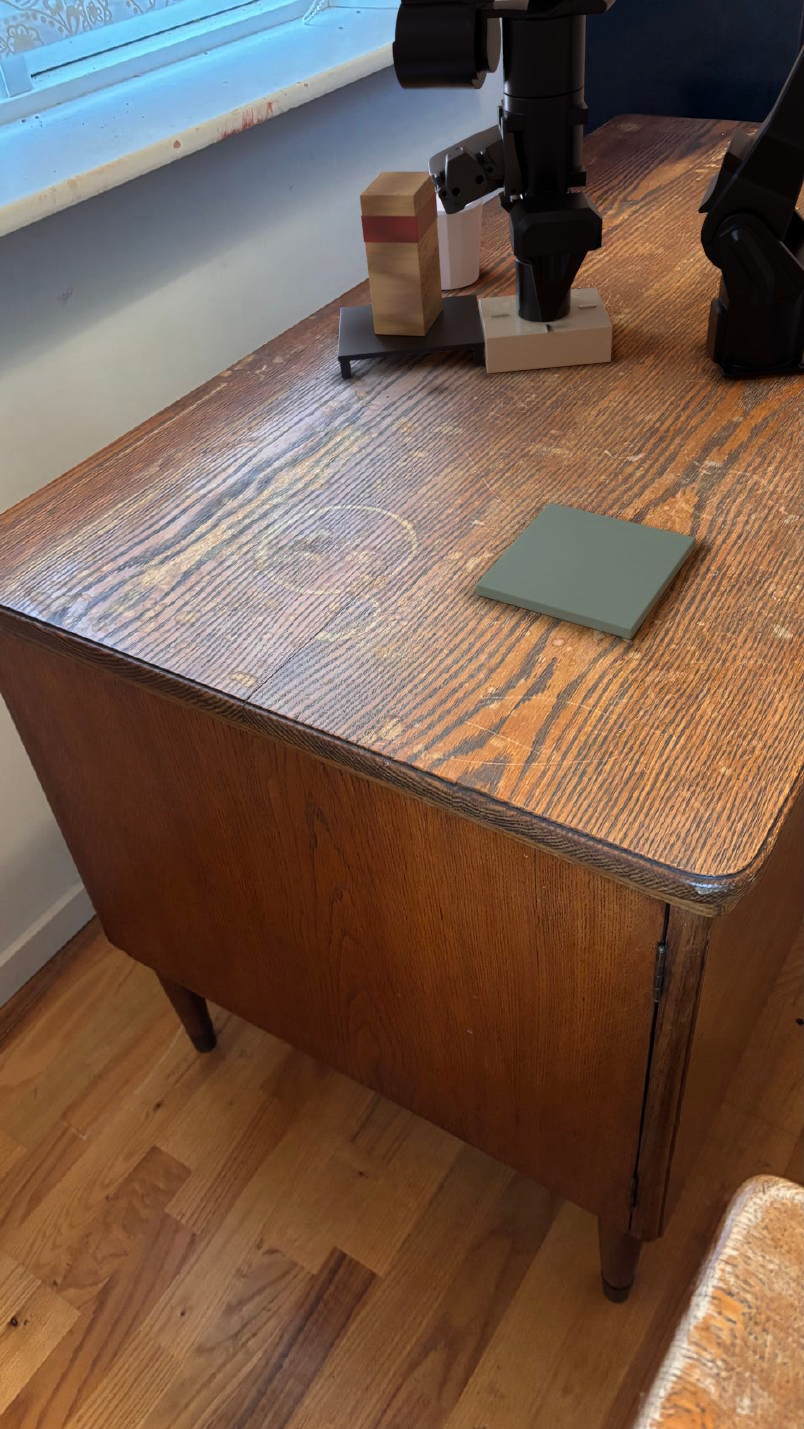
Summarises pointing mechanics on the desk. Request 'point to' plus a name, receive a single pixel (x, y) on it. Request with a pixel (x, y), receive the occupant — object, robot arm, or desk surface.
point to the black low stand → (447, 333)
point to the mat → (588, 569)
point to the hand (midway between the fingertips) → (543, 305)
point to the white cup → (459, 244)
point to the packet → (402, 252)
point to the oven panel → (545, 334)
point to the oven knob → (531, 294)
